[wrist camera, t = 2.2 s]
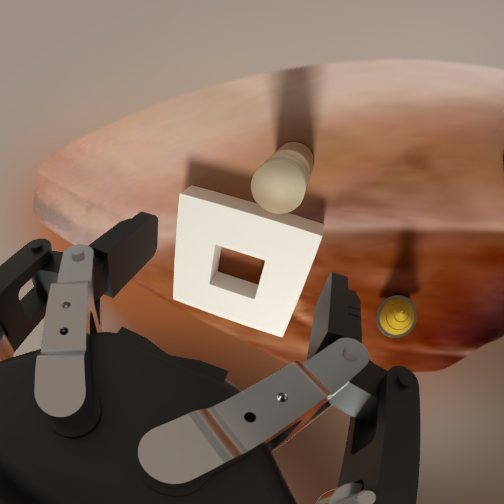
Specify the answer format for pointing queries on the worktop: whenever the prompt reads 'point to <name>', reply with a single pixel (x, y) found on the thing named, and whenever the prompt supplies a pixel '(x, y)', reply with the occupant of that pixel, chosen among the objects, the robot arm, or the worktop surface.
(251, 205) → the socket board
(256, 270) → the worktop surface
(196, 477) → the robot arm
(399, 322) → the drill bit
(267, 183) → the wooden peg
